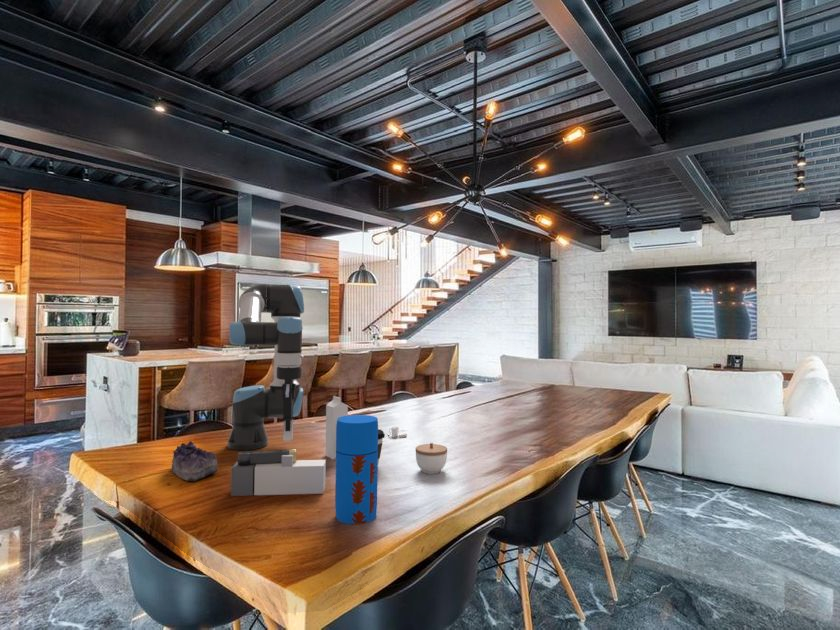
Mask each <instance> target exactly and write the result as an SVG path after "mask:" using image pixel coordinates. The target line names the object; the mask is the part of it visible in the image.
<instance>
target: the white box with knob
mask: <svg viewBox="0 0 840 630" xmlns="http://www.w3.org/2000/svg"><path fill="white" fill-rule="evenodd" d="M326 460H327V459H300V460H299V459H298V460H297V459H296V462H293V455H282V462H280V463H263V464H250V465H238V460H237V461H235V463H234V464H233V466H232V467H230V497H241V496H243V497H245V496H246V497H247V496H253V495H254V496H279V495H281V496H282V495H285V496H286V495H311V494H312V495H315V494H318V495H320V494H324V493H325V490H326V489H325V488H326V477H327V476H326V475H327V474H326V471H327V470H326V469H327V467H326V465H327V464H326V462H327V461H326Z"/></svg>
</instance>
